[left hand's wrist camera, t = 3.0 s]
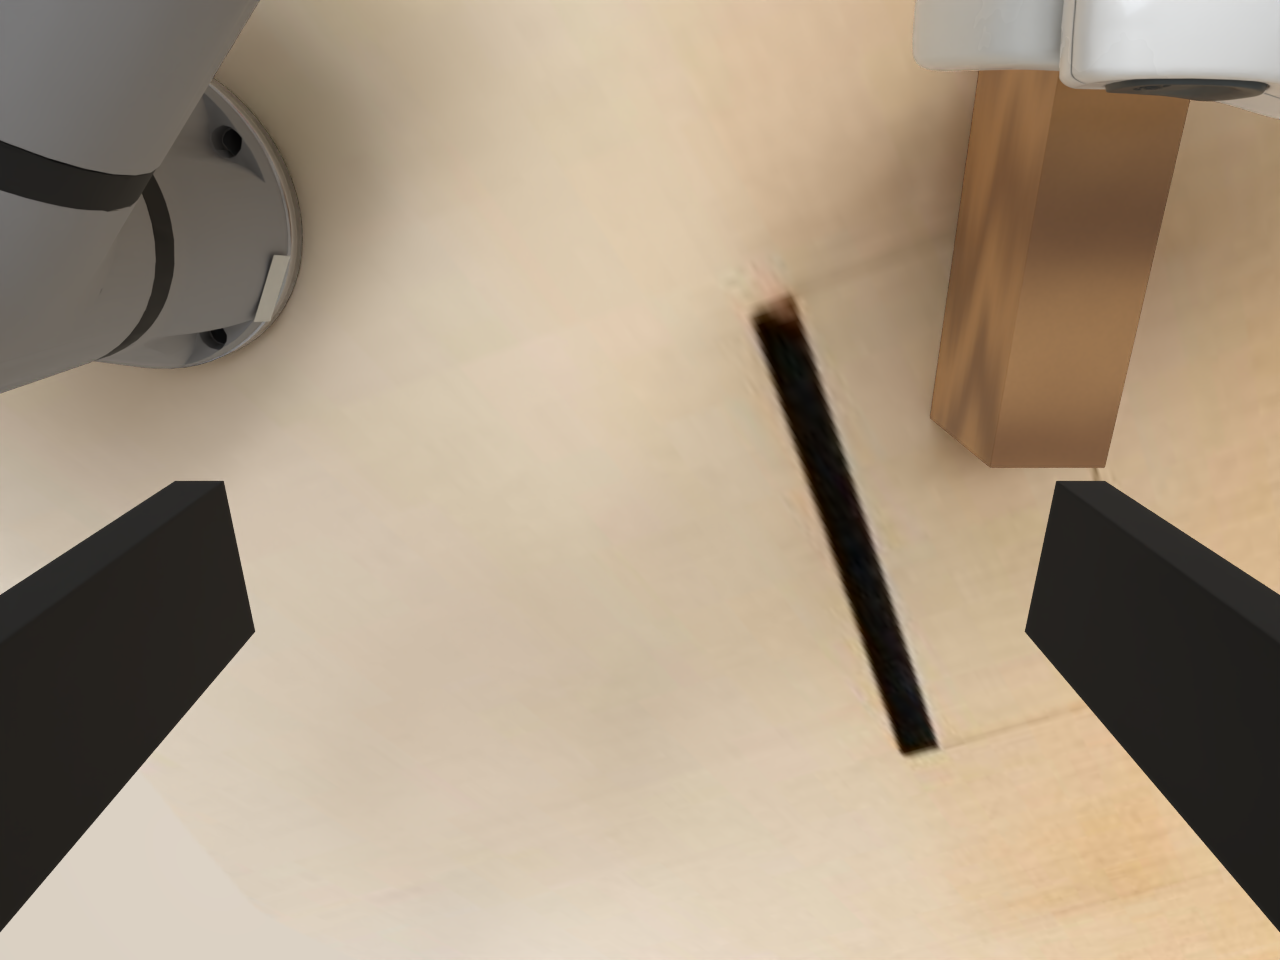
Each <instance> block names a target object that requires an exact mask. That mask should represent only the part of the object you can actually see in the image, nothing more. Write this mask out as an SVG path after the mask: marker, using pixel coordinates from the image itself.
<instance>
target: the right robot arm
mask: <svg viewBox="0 0 1280 960" xmlns="http://www.w3.org/2000/svg"><path fill="white" fill-rule="evenodd" d="M912 49H913V57H914V60H915V62H916V64H917V65H918V66H920V67H921V68H924V69H927V70H932V71H945V72H950V71H982V70H1048V71H1059V79H1060V81H1061V82H1062V83H1063V84H1064V85H1066V86H1068V87H1070V88H1074V89H1106V92H1108V93H1123V94H1139V95H1155V96H1167V97H1175V98H1183V99H1189V100H1196V101H1214V102H1219V103H1223V104H1227V105H1230V106H1234V107H1237V108H1241V109H1244V110H1247V111H1250V112H1253V113H1257V114H1260V115H1263V116H1267V117H1271V118H1275V119H1279V120H1280V0H916V1H915V10H914V21H913V38H912Z"/></svg>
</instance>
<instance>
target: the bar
mask: <svg viewBox="0 0 1280 960" xmlns="http://www.w3.org/2000/svg"><path fill="white" fill-rule="evenodd" d="M1189 102H1190V100H1189V99H1183V98H1175V97H1167V96H1155V95H1139V94H1123V93H1108V92H1106V89H1074V88H1070V87H1068V86H1066V85H1064V84H1063V83H1062V82H1061V81H1060V79H1059V71H1048V70H982V71H979V75H978V82H977V89H976V96H975V103H974V110H973V117H972V124H971V132H970V139H969V146H968V153H967V160H966V167H965V174H964V181H963V188H962V195H961V202H960V210H959V217H958V224H957V231H956V238H955V245H954V252H953V259H952V266H951V273H950V280H949V287H948V295H947V302H946V309H945V316H944V323H943V330H942V337H941V344H940V351H939V358H938V365H937V373H936V380H935V387H934V394H933V401H932V408H931V415H930V418H931V419H932V420H933V421H934V422H936V423H937V424H938V425H939V426H940V427H942V428H943V429H944V430H945V431H946V432H948V433H949V434H950V435H951V436H953V437H954V438H955V439H956V440H957V441H959V442H960V443H961V444H962V445H963V446H965V447H966V448H967V449H968V450H969V451H971V452H972V453H973V454H974V455H976V456H977V457H978V458H979V459H980V460H982V461H983V462H984V463H985V464H986V465H988V466H989V467H990V468H1104V467H1105V465H1106V460H1107V456H1108V452H1109V447H1110V443H1111V439H1112V434H1113V430H1114V426H1115V421H1116V417H1117V413H1118V408H1119V404H1120V400H1121V396H1122V391H1123V387H1124V383H1125V378H1126V374H1127V370H1128V365H1129V361H1130V357H1131V352H1132V348H1133V344H1134V339H1135V335H1136V331H1137V326H1138V322H1139V318H1140V313H1141V309H1142V305H1143V301H1144V296H1145V292H1146V288H1147V283H1148V279H1149V275H1150V270H1151V266H1152V262H1153V257H1154V253H1155V249H1156V244H1157V240H1158V236H1159V231H1160V227H1161V223H1162V219H1163V214H1164V210H1165V206H1166V201H1167V197H1168V193H1169V188H1170V184H1171V180H1172V175H1173V171H1174V167H1175V162H1176V158H1177V154H1178V149H1179V145H1180V141H1181V137H1182V132H1183V128H1184V124H1185V119H1186V115H1187V111H1188V106H1189Z"/></svg>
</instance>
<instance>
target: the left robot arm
mask: <svg viewBox="0 0 1280 960" xmlns="http://www.w3.org/2000/svg"><path fill="white" fill-rule="evenodd" d="M259 1H260V0H0V393H3V392H6V391H9V390H12V389H15V388H17V387H20V386H23V385H26V384H29V383H32V382H35V381H38V380H41V379H44V378H46V377H49V376H52V375H55V374H58V373H61V372H64V371H67V370H70V369H73V368H75V367H78V366H81V365H84V364H87V363H90V362H93V361H97V362H104V363H112V364H120V365H128V366H135V367H143V368H183V367H190V366H195V365H200V364H203V363H206V362H210V361H213V360H215V359H217V358H220V357H222V356H224V355H227V354H229V353H231V352H234V351H236V350H238V349H240V348H242V347H244V346H246V345H247V344H249V343H251V342H252V341H253V340H255V339H256V338H257V337H259V336H260V335H261V334H262V333H263V332H264V331H265V330H267V329H268V328H269V327H270V326H271V324H272V323H273V322H274V321H275V320H276V319H277V317H278V316H279V314H280V313H281V311H282V310H283V308H284V307H285V305H286V303H287V301H288V299H289V297H290V296H291V293H292V291H293V288H294V285H295V283H296V279H297V276H298V272H299V268H300V261H301V255H302V223H301V215H300V208H299V204H298V199H297V195H296V192H295V188H294V185H293V182H292V179H291V176H290V174H289V172H288V169H287V167H286V164H285V162H284V160H283V158H282V156H281V154H280V153H279V151H278V149H277V147H276V145H275V144H274V142H273V140H272V139H271V137H270V136H269V134H268V132H267V131H266V130H265V128H264V127H263V126H262V124H261V123H260V122H259V120H258V119H257V118H256V117H255V116H254V114H253V113H252V112H251V111H250V110H249V109H248V108H247V107H246V105H245V104H244V103H242V102H241V101H240V100H239V99H238V98H237V97H236V96H235V95H234V94H233V93H232V92H231V91H230V90H228V89H227V88H226V87H225V86H223V85H222V84H221V83H220V82H218V81H217V80H216V79H214V78H213V77H214V75H215V74H216V72H217V70H218V69H219V67H220V65H221V64H222V62H223V60H224V59H225V57H226V55H227V54H228V52H229V50H230V49H231V47H232V45H233V44H234V42H235V41H236V39H237V37H238V36H239V34H240V32H241V31H242V29H243V27H244V26H245V24H246V22H247V21H248V19H249V17H250V16H251V14H252V12H253V11H254V9H255V7H256V6H257V4H258V2H259ZM254 632H255V629H254V624H253V619H252V614H251V610H250V605H249V600H248V595H247V590H246V586H245V581H244V576H243V571H242V566H241V562H240V557H239V552H238V547H237V543H236V538H235V533H234V528H233V523H232V519H231V514H230V509H229V504H228V499H227V495H226V490H225V485H224V481H174V482H173V483H171V484H170V485H168V486H167V487H165V488H164V489H162V490H161V491H159V492H158V493H156V494H154V495H153V496H151V497H150V498H148V499H147V500H145V501H144V502H142V503H141V504H139V505H138V506H136V507H135V508H133V509H131V510H130V511H128V512H127V513H125V514H124V515H122V516H121V517H119V518H118V519H116V520H115V521H113V522H112V523H110V524H108V525H107V526H105V527H104V528H102V529H101V530H99V531H98V532H96V533H95V534H93V535H92V536H90V537H89V538H87V539H85V540H84V541H82V542H81V543H79V544H78V545H76V546H75V547H73V548H72V549H70V550H69V551H67V552H65V553H64V554H62V555H61V556H59V557H58V558H56V559H55V560H53V561H52V562H50V563H49V564H47V565H46V566H44V567H42V568H41V569H39V570H38V571H36V572H35V573H33V574H32V575H30V576H29V577H27V578H26V579H24V580H23V581H21V582H19V583H18V584H16V585H15V586H13V587H12V588H10V589H9V590H7V591H6V592H4V593H3V594H1V595H0V932H1V931H2V929H3V928H4V927H5V926H6V925H7V924H8V922H9V921H10V920H11V919H12V918H13V916H14V915H15V914H16V913H17V912H18V911H19V909H20V908H21V907H22V906H23V905H24V904H25V902H26V901H27V900H28V899H29V898H30V896H31V895H32V894H33V893H34V892H35V891H36V889H37V888H38V887H39V886H40V885H41V883H42V882H43V881H44V880H45V879H46V877H47V876H48V875H49V874H50V873H51V872H52V871H53V869H54V868H55V867H56V866H57V865H58V863H59V862H60V861H61V860H62V859H63V857H64V856H65V855H66V854H67V853H68V852H69V850H70V849H71V848H72V847H73V846H74V845H75V843H76V842H77V841H78V840H79V839H80V838H81V836H82V835H83V834H84V833H85V832H86V830H87V829H88V828H89V827H90V826H91V825H92V823H93V822H94V821H95V820H96V819H97V817H98V816H99V815H100V814H101V813H102V812H103V810H104V809H105V808H106V807H107V806H108V805H109V803H110V802H111V801H112V800H113V799H114V797H115V796H116V795H117V794H118V793H119V792H120V790H121V789H122V788H123V787H124V786H125V784H126V783H127V782H128V781H129V780H130V779H131V777H132V776H133V775H134V774H135V773H136V772H137V770H138V769H139V768H140V767H141V766H142V764H143V763H144V762H145V761H146V760H147V759H148V757H149V756H150V755H151V754H152V753H153V751H154V750H155V749H156V748H157V747H158V746H159V744H160V743H161V742H162V741H163V740H164V738H165V737H166V736H167V735H168V734H169V733H170V731H171V730H172V729H173V728H174V727H175V726H176V724H177V723H178V722H179V721H180V720H181V718H182V717H183V716H184V715H185V714H186V713H187V711H188V710H189V709H190V708H191V707H192V705H193V704H194V703H195V702H196V701H197V700H198V698H199V697H200V696H201V695H202V694H203V693H204V691H205V690H206V689H207V688H208V687H209V685H210V684H211V683H212V682H213V681H214V680H215V678H216V677H217V676H218V675H219V674H220V672H221V671H222V670H223V669H224V668H225V667H226V665H227V664H228V663H229V662H230V661H231V660H232V658H233V657H234V656H235V655H236V654H237V652H238V651H239V650H240V649H241V648H242V647H243V645H244V644H245V643H246V642H247V641H248V639H249V638H250V637H251V636H252V635H253V634H254ZM1025 632H1026V634H1027V635H1028V636H1029V637H1030V638H1031V639H1032V641H1033V642H1034V643H1035V644H1036V645H1037V647H1038V648H1039V649H1040V650H1041V651H1042V652H1043V654H1044V655H1045V656H1046V657H1047V658H1048V660H1049V661H1050V662H1051V663H1052V664H1053V665H1054V667H1055V668H1056V669H1057V670H1058V671H1059V672H1060V674H1061V675H1062V676H1063V677H1064V678H1065V680H1066V681H1067V682H1068V683H1069V684H1070V685H1071V687H1072V688H1073V689H1074V690H1075V691H1076V693H1077V694H1078V695H1079V696H1080V697H1081V698H1082V700H1083V701H1084V702H1085V703H1086V704H1087V705H1088V707H1089V708H1090V709H1091V710H1092V711H1093V713H1094V714H1095V715H1096V716H1097V717H1098V718H1099V720H1100V721H1101V722H1102V723H1103V724H1104V726H1105V727H1106V728H1107V729H1108V730H1109V731H1110V733H1111V734H1112V735H1113V736H1114V737H1115V738H1116V740H1117V741H1118V742H1119V743H1120V744H1121V746H1122V747H1123V748H1124V749H1125V750H1126V751H1127V753H1128V754H1129V755H1130V756H1131V757H1132V759H1133V760H1134V761H1135V762H1136V763H1137V764H1138V766H1139V767H1140V768H1141V769H1142V770H1143V772H1144V773H1145V774H1146V775H1147V776H1148V777H1149V779H1150V780H1151V781H1152V782H1153V783H1154V784H1155V786H1156V787H1157V788H1158V789H1159V790H1160V792H1161V793H1162V794H1163V795H1164V796H1165V797H1166V799H1167V800H1168V801H1169V802H1170V803H1171V805H1172V806H1173V807H1174V808H1175V809H1176V810H1177V812H1178V813H1179V814H1180V815H1181V816H1182V817H1183V819H1184V820H1185V821H1186V822H1187V823H1188V825H1189V826H1190V827H1191V828H1192V829H1193V830H1194V832H1195V833H1196V834H1197V835H1198V836H1199V838H1200V839H1201V840H1202V841H1203V842H1204V843H1205V845H1206V846H1207V847H1208V848H1209V849H1210V850H1211V852H1212V853H1213V854H1214V855H1215V856H1216V858H1217V859H1218V860H1219V861H1220V862H1221V863H1222V865H1223V866H1224V867H1225V868H1226V869H1227V871H1228V872H1229V873H1230V874H1231V875H1232V876H1233V878H1234V879H1235V880H1236V881H1237V882H1238V883H1239V885H1240V886H1241V887H1242V888H1243V889H1244V891H1245V892H1246V893H1247V894H1248V895H1249V896H1250V898H1251V899H1252V900H1253V901H1254V902H1255V904H1256V905H1257V906H1258V907H1259V908H1260V909H1261V911H1262V912H1263V913H1264V914H1265V915H1266V917H1267V918H1268V919H1269V920H1270V921H1271V922H1272V924H1273V925H1274V926H1275V927H1276V928H1277V929H1278V931H1279V932H1280V595H1279V594H1277V593H1276V592H1274V591H1273V590H1271V589H1270V588H1268V587H1267V586H1265V585H1264V584H1262V583H1261V582H1259V581H1257V580H1256V579H1254V578H1253V577H1251V576H1250V575H1248V574H1247V573H1245V572H1244V571H1242V570H1241V569H1239V568H1238V567H1236V566H1234V565H1233V564H1231V563H1230V562H1228V561H1227V560H1225V559H1224V558H1222V557H1221V556H1219V555H1218V554H1216V553H1215V552H1213V551H1211V550H1210V549H1208V548H1207V547H1205V546H1204V545H1202V544H1201V543H1199V542H1198V541H1196V540H1195V539H1193V538H1191V537H1190V536H1188V535H1187V534H1185V533H1184V532H1182V531H1181V530H1179V529H1178V528H1176V527H1175V526H1173V525H1172V524H1170V523H1168V522H1167V521H1165V520H1164V519H1162V518H1161V517H1159V516H1158V515H1156V514H1155V513H1153V512H1152V511H1150V510H1149V509H1147V508H1145V507H1144V506H1142V505H1141V504H1139V503H1138V502H1136V501H1135V500H1133V499H1132V498H1130V497H1129V496H1127V495H1126V494H1124V493H1122V492H1121V491H1119V490H1118V489H1116V488H1115V487H1113V486H1112V485H1110V484H1109V483H1107V482H1106V481H1056V485H1055V490H1054V495H1053V499H1052V504H1051V509H1050V514H1049V519H1048V523H1047V528H1046V533H1045V538H1044V543H1043V547H1042V552H1041V557H1040V562H1039V566H1038V571H1037V576H1036V581H1035V586H1034V590H1033V595H1032V600H1031V605H1030V610H1029V614H1028V619H1027V624H1026V629H1025Z"/></svg>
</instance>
